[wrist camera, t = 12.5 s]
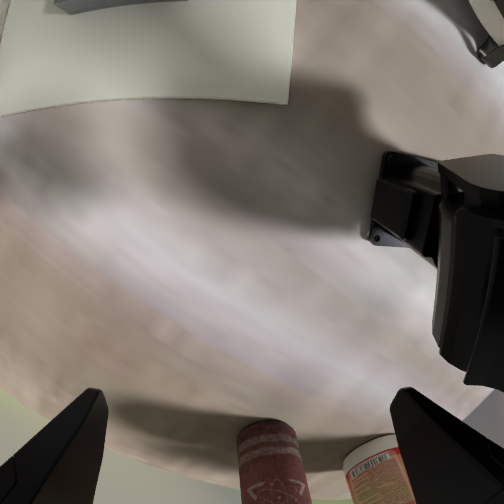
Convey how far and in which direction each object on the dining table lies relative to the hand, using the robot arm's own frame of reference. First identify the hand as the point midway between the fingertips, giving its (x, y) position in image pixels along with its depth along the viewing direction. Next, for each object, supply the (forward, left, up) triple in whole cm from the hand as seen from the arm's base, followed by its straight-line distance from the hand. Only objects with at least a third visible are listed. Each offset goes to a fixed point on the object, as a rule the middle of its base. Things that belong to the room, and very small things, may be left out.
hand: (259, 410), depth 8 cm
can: (-4, +21, -13) cm, 25 cm away
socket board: (+8, -19, -13) cm, 24 cm away
